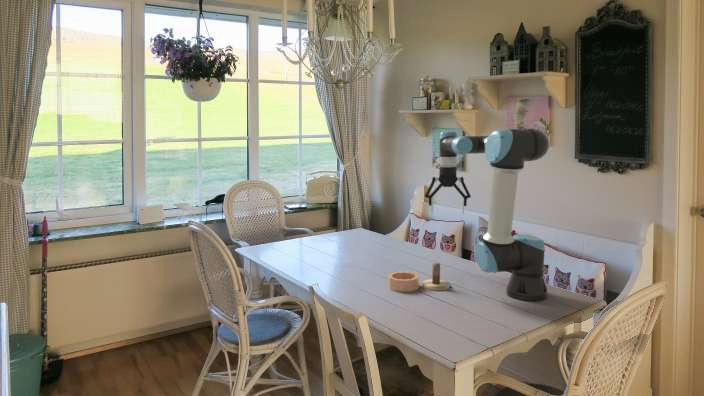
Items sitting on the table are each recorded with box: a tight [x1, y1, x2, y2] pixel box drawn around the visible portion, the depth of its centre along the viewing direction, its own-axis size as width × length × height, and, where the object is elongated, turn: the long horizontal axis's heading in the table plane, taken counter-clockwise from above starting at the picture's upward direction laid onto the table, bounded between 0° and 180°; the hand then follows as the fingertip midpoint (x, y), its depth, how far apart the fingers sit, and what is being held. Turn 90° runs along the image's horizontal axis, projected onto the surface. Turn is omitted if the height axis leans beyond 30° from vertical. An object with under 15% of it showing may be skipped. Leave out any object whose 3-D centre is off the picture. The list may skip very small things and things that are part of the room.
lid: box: [421, 262, 451, 292], centre depth 213 cm, size 11×11×9 cm
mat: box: [419, 282, 452, 292], centre depth 213 cm, size 10×10×1 cm
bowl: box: [387, 271, 420, 293], centre depth 213 cm, size 12×12×6 cm
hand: (447, 213), depth 239 cm, fingers open, 13 cm apart
